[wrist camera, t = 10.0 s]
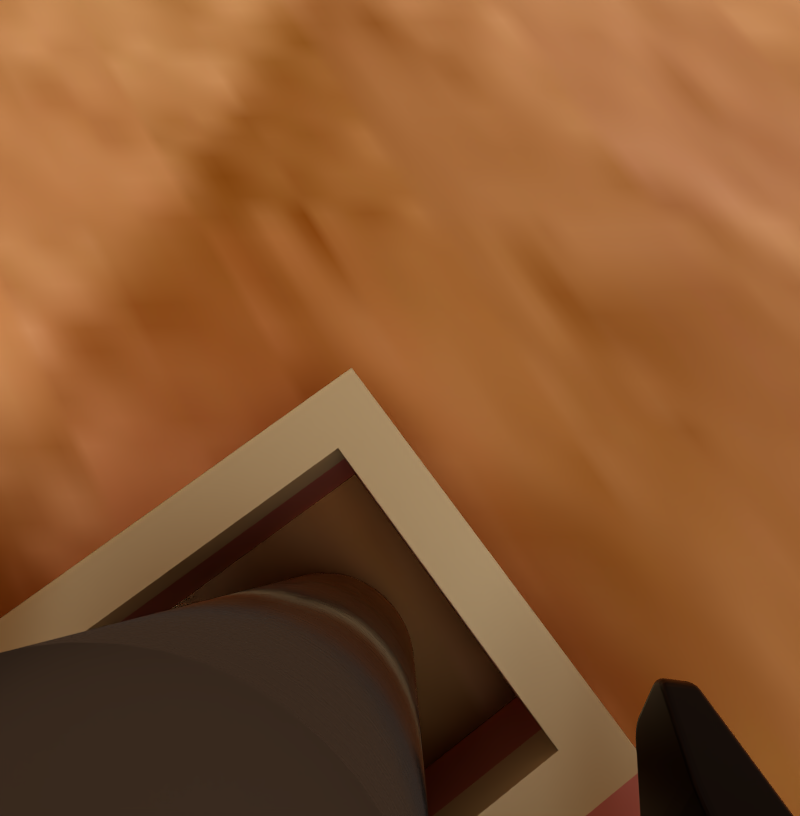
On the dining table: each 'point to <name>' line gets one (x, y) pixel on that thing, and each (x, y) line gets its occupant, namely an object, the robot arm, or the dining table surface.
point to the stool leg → (220, 711)
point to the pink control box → (434, 549)
